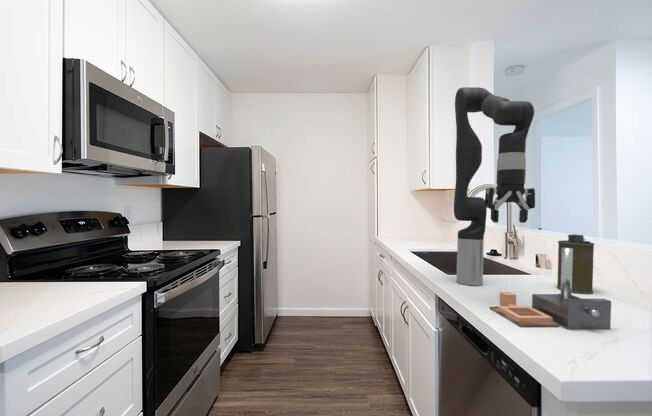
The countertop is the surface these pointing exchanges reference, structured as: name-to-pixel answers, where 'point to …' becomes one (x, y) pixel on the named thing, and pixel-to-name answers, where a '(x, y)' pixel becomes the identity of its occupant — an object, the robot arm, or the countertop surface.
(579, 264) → the canister
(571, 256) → the block
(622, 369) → the countertop surface
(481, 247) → the robot arm
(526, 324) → the board
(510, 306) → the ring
